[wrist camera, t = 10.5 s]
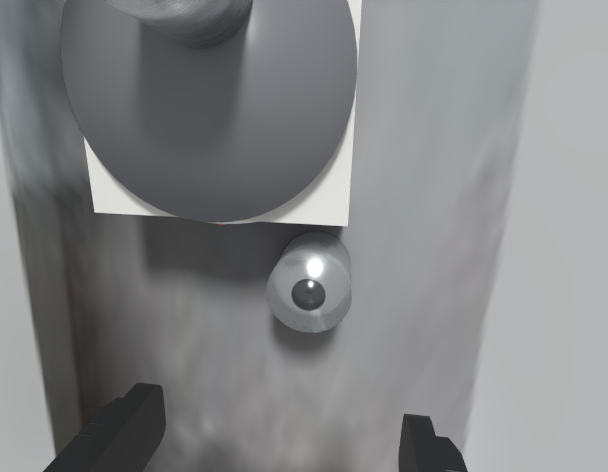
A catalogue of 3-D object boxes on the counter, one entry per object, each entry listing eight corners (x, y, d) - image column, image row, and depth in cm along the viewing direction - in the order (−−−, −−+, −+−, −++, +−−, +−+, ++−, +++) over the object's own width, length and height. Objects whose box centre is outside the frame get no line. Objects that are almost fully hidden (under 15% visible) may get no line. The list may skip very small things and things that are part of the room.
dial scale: (131, -32, 21) (35, -108, 15) (362, -39, 20) (369, -127, 13) (153, 203, 25) (85, 225, 19) (347, 212, 24) (346, 241, 17)
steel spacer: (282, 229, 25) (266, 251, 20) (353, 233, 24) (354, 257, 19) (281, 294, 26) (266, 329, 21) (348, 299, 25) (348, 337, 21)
